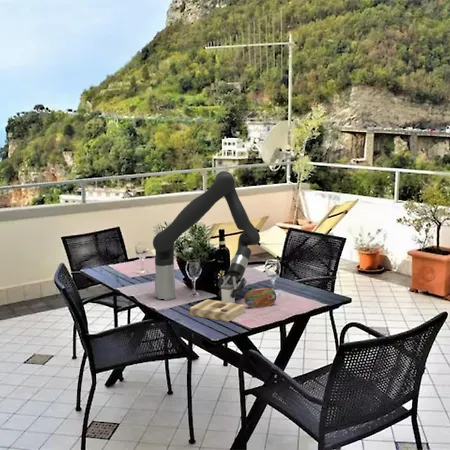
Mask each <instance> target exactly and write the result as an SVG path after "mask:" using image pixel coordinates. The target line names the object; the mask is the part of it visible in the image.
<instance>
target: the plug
mask: <svg viewBox="0 0 450 450" xmlns="http://www.w3.org/2000/svg"><path fill="white" fill-rule="evenodd" d="M233 289H234V285H228V283H226V285H224V286H221V292H222V297H221V301H222V302H229V303H235V304H236V301H235V300H236V296H235V297H234V298H231V294H232V291H233Z"/></svg>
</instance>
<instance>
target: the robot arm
mask: <svg viewBox="0 0 450 450" xmlns="http://www.w3.org/2000/svg"><path fill="white" fill-rule="evenodd" d="M235 180H236V179H235V178H234V176H233V175H232V173H231V172H229V171H226V170H222V171H219V172H218V173H217V174H216V176H215V178H214V182H213V183H212V184H211V186H210V187H209V188H208V189H207V190H206V191H205V192H203V193H202V194H200V195H198V196H197V197H195V198H194V199H192V200H190V202H189V203H187V204H186V205H185V206H184V208H183V209H182V210H181V211H180V212H179V213H178V214H177V216H175V218H174V220H173V221H172V222H171V223H170V224H169V225H167V227H166V228H164V229H163V230H161V231H159V232H157V234H156V235H154V238H153V239H152V246H153V249H154V250H155V256H154V264H155V265H154V267H155V279H154V294H155V298H156V297H157V298H158V299H157V298H156V299H157V300H159V299H164V300H163V301H169V299H170V300H174V299H175V298H176V296H177V295H176V294H177V293H176V278H175V276H176V275H175V247H174V246H175V245H174V244H175V243H176V241H177V240H178V239H179V238H180V237H181V236H182V235H183V234H184V233H185V232H187V231H188V230H189V229H191V228H192V227H193V226H194V225H195V224H197V223H198V222H199V221H200V220H201V219H202V218H203V217H204V216H205V215H206V214H207V213H209V211H210V210H211V209H212V208H213V206H214V205H216V204H217V203H218V201H220V200H221V199H222V198H223V197H224V199H225V201H226V204H227V207H228V209H229V211H230V214H231V217H232V219H233V222H234V224H235V227H236V228H237V229H238V230H239V231H243V232H242V233H240V235H239V236H238V241H237V250H236V252H235V255H234V256H233V259H232V261H231V262H230V265H229V268H228V270H227V274H226V275H222V274H221V275H220V277H219V278H218V279H219V280H218V282H217V286H218V288H219V291H218V295H219V297H221V298H222V292H221V286H224V285H226V284H228V285H234V289H233V291H232V294H231V298H234V297H235V298H236V296H237V293H238V292H242V291H243V290H244V287H245V286H246V284H247V282H248V281H247V279H246V278H245V277H243V276H244V275H245V271H246V269H247V266H248V262H249V261H250V258H251V255H252V249H250V248H249V246H257V245H258V244H260V241H261V236H260V232H259V231H258V230H257V228H256V227H255V226H254V225H253V223H252V222H251V220H250V218H249V216H248V214H247V212H246V209H245V208H244V206H243V204H242V202H241V199H240V198H239V195H238V192H237V189H236V187H235V184H236V181H235Z"/></svg>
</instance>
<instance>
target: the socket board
mask: <svg viewBox="0 0 450 450" xmlns="http://www.w3.org/2000/svg"><path fill="white" fill-rule="evenodd" d="M245 310H246V309H245V304H240V303H236V302H235V303H229V302H222V300H216V299H215V300H213V299H205V300H203V301H200V302H199V303H196V304H195V305H192V306H191V307H190V308H189V313H190V315H189V316H193V317H200V318H206V319H211V320H216V321H222V322H230V321H232V320H233V319H235V318H237V317H239V316H241V315H243V314H244V313H245V312H246V311H245Z"/></svg>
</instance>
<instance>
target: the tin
mask: <svg viewBox="0 0 450 450" xmlns="http://www.w3.org/2000/svg"><path fill="white" fill-rule="evenodd" d="M276 293H277V292H275V290H274V289H272V288H269V287H265V288H264V287H262V288H255V289H250V290H248V291H247V292H246V293H245V295H244V298H243V299H244V303H245V304H246V305H247V306H248V308H250V309H259V308H265V307H270V306H272V305H274V304H275V302H276V299H277V294H276Z"/></svg>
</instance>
